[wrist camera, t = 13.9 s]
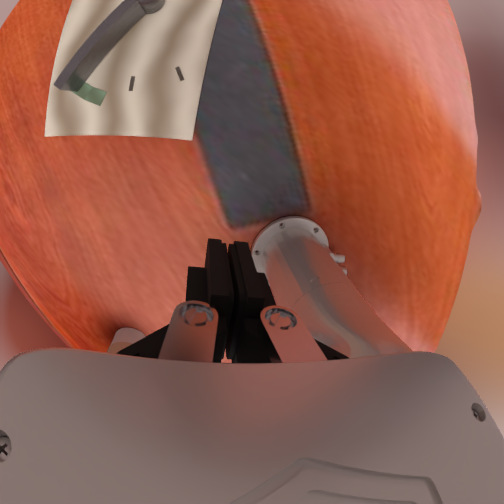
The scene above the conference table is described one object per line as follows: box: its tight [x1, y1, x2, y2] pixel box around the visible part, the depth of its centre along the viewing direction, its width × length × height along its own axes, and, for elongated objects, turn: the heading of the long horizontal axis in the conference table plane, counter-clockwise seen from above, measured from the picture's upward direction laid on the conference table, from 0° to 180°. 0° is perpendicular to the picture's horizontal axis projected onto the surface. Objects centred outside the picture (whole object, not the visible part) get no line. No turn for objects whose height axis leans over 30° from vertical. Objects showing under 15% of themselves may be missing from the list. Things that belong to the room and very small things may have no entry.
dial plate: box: [45, 0, 223, 140], centre depth 26 cm, size 22×22×2 cm
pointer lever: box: [53, 0, 165, 92], centre depth 21 cm, size 17×4×5 cm, turn 135°
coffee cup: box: [107, 328, 146, 354], centre depth 41 cm, size 9×9×15 cm
